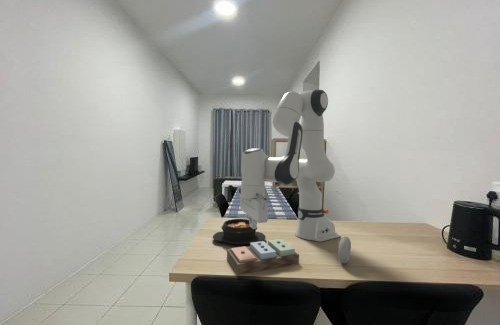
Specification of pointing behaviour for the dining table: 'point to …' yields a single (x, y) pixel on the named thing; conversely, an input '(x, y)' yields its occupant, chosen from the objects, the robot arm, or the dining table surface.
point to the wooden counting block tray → (261, 262)
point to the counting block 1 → (242, 254)
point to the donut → (344, 250)
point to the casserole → (238, 232)
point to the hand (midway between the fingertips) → (253, 227)
